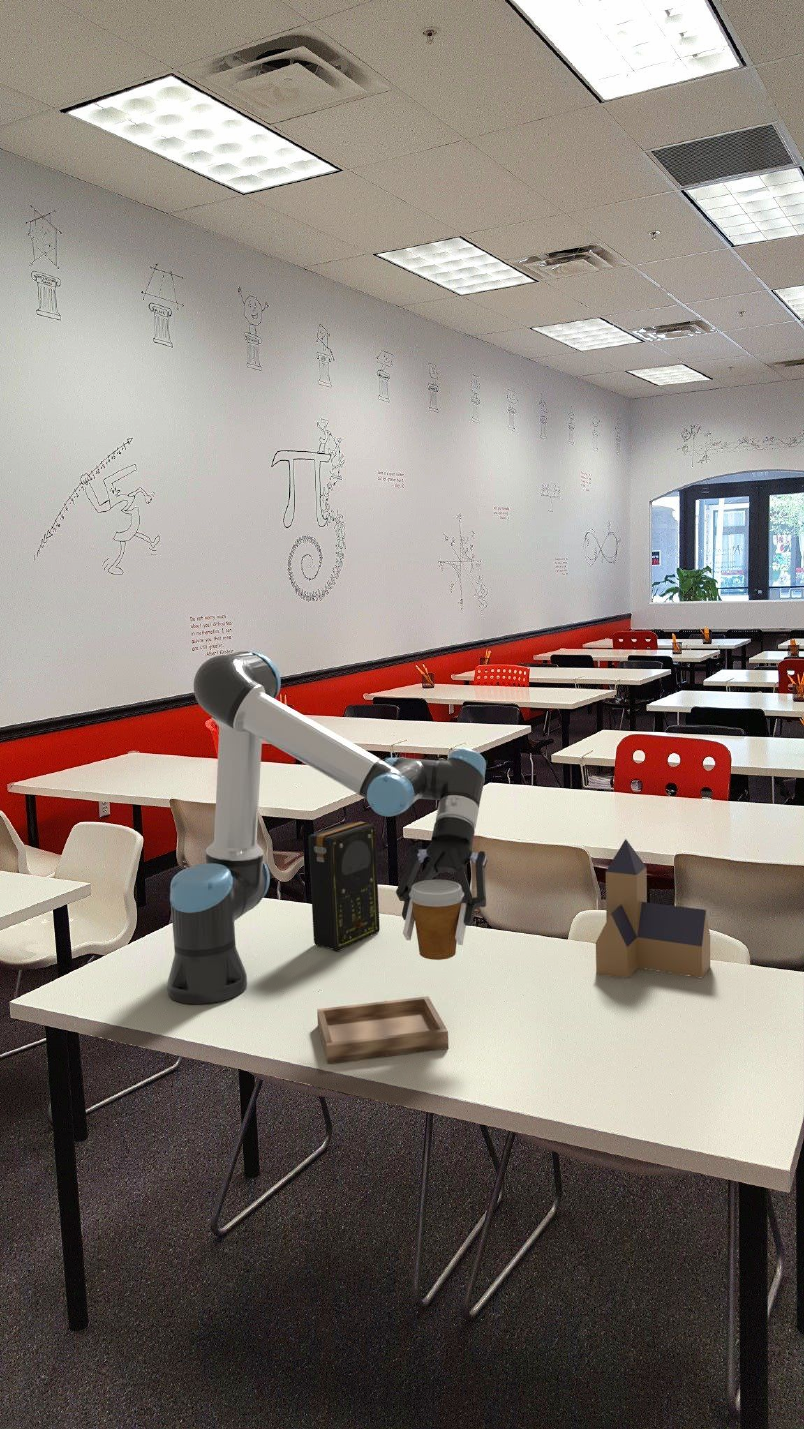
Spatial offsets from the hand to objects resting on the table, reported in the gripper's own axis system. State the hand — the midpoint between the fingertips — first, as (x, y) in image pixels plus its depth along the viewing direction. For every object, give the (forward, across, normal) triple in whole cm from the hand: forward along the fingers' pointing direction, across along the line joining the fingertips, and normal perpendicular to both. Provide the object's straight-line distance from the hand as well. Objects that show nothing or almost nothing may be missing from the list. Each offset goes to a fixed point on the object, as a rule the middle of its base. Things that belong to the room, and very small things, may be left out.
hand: (432, 939), depth 171 cm
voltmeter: (-16, -31, +40) cm, 53 cm away
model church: (-14, +34, +36) cm, 51 cm away
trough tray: (+15, -8, +8) cm, 19 cm away
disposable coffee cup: (0, 0, +5) cm, 5 cm away
